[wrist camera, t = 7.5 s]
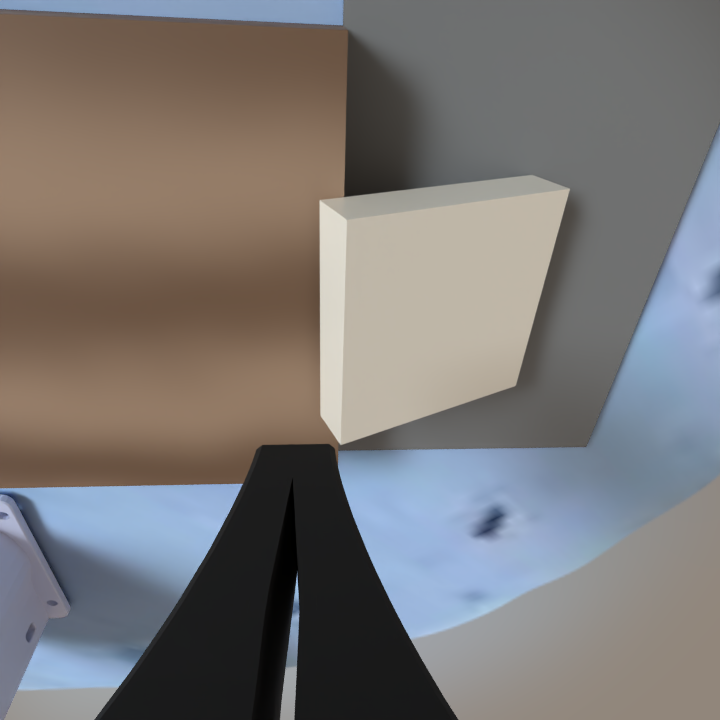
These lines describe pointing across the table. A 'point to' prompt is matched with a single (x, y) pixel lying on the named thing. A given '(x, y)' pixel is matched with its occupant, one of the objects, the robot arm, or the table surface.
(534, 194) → the coaster
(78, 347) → the board
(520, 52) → the mat
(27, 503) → the table surface
